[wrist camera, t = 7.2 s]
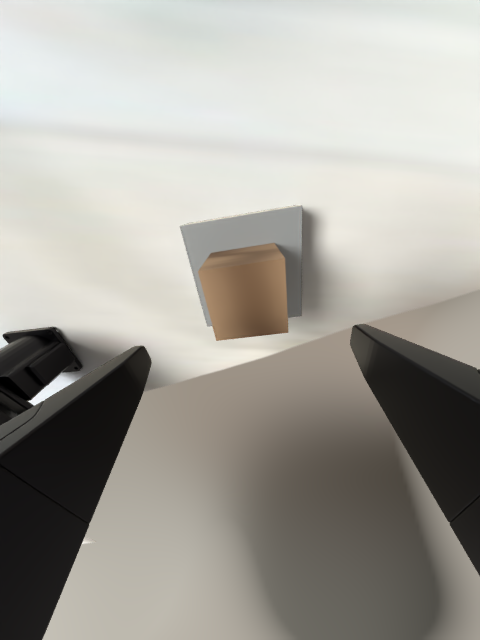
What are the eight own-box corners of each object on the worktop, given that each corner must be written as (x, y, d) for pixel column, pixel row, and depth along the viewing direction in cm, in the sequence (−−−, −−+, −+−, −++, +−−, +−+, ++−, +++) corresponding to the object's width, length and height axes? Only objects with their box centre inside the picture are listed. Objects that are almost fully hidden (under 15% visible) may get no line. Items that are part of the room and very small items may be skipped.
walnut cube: (223, 308, 18) (216, 340, 14) (210, 252, 16) (197, 271, 12) (278, 301, 18) (288, 332, 13) (273, 242, 15) (285, 258, 11)
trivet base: (212, 312, 22) (207, 326, 19) (189, 222, 18) (179, 226, 15) (294, 302, 21) (301, 316, 18) (293, 205, 17) (302, 205, 14)
